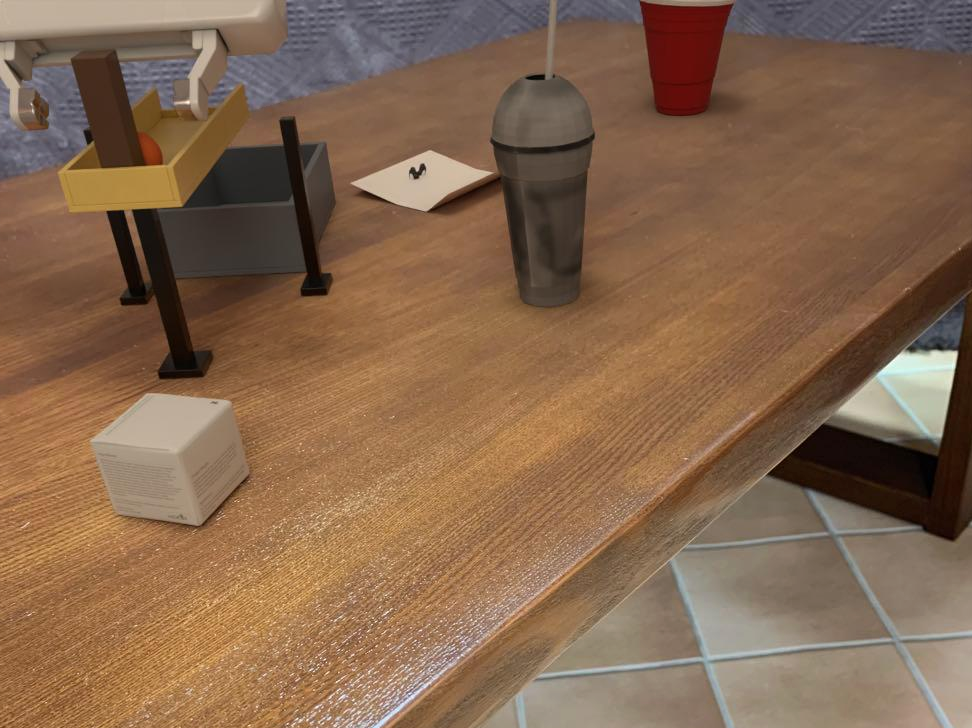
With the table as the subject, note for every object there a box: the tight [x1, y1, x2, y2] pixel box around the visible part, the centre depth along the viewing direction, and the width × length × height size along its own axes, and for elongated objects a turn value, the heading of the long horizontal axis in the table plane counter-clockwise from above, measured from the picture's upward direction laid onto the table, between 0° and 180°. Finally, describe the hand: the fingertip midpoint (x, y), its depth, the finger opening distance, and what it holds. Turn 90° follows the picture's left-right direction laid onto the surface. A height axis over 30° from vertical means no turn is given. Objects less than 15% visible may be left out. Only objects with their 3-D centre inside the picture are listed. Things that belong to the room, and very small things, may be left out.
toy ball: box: [137, 132, 163, 166], centre depth 66 cm, size 3×3×3 cm
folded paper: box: [349, 149, 501, 213], centre depth 102 cm, size 12×12×2 cm
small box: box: [89, 392, 251, 527], centre depth 59 cm, size 6×6×5 cm
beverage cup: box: [489, 0, 596, 308], centre depth 75 cm, size 7×7×20 cm
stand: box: [82, 115, 333, 380], centre depth 75 cm, size 16×16×13 cm
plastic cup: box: [638, 0, 738, 116], centre depth 118 cm, size 11×11×12 cm
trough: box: [57, 49, 251, 214], centre depth 70 cm, size 20×7×8 cm, turn 1°
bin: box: [157, 141, 336, 280], centre depth 92 cm, size 17×11×6 cm, turn 1°
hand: (109, 120), depth 62 cm, fingers open, 8 cm apart
